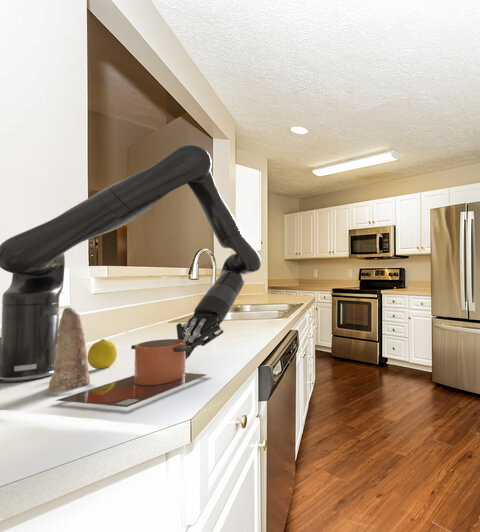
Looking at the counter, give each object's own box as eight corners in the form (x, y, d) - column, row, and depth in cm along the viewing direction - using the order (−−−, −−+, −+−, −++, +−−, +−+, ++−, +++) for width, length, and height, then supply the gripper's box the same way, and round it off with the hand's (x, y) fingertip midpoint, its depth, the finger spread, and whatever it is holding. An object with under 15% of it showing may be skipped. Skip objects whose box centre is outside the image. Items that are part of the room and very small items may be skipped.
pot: (115, 383, 73) (116, 345, 74) (154, 370, 83) (154, 337, 83) (168, 387, 71) (168, 348, 71) (201, 374, 80) (202, 340, 81)
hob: (53, 405, 63) (54, 399, 64) (149, 374, 83) (150, 369, 83) (126, 412, 61) (126, 406, 61) (207, 378, 80) (208, 374, 80)
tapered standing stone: (41, 399, 69) (72, 399, 69) (33, 312, 66) (65, 313, 67) (69, 384, 75) (98, 384, 75) (63, 304, 72) (93, 305, 73)
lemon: (99, 375, 82) (100, 341, 82) (81, 373, 83) (82, 340, 84) (122, 368, 88) (122, 337, 88) (104, 367, 89) (105, 336, 89)
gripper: (188, 293, 93) (147, 348, 81) (232, 295, 91) (196, 351, 79) (202, 311, 98) (165, 364, 86) (243, 312, 96) (212, 368, 84)
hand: (180, 358), depth 82 cm, fingers closed
